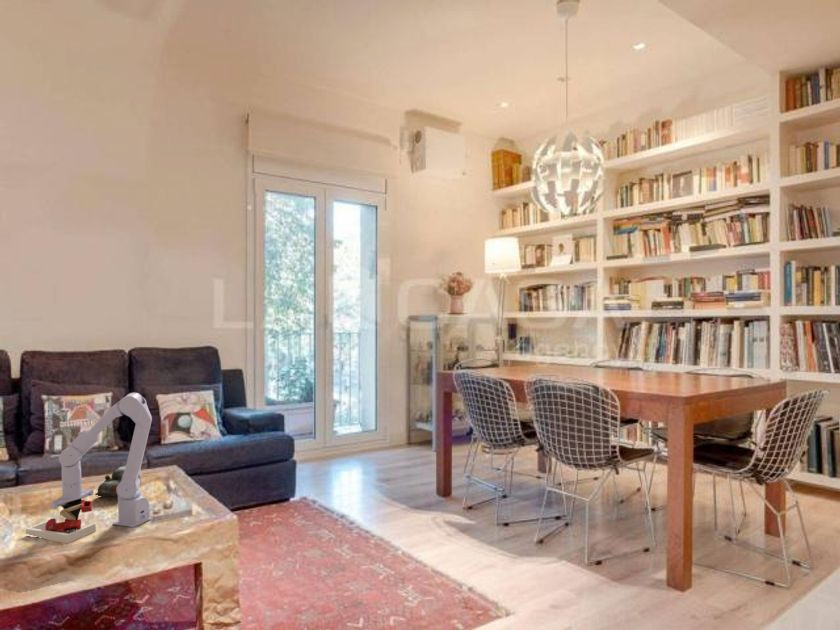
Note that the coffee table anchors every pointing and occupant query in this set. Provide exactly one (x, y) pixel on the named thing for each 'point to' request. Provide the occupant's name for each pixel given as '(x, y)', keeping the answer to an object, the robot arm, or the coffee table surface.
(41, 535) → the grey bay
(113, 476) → the dark grey lumpy shape
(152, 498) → the coffee table surface
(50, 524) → the toy fire truck
